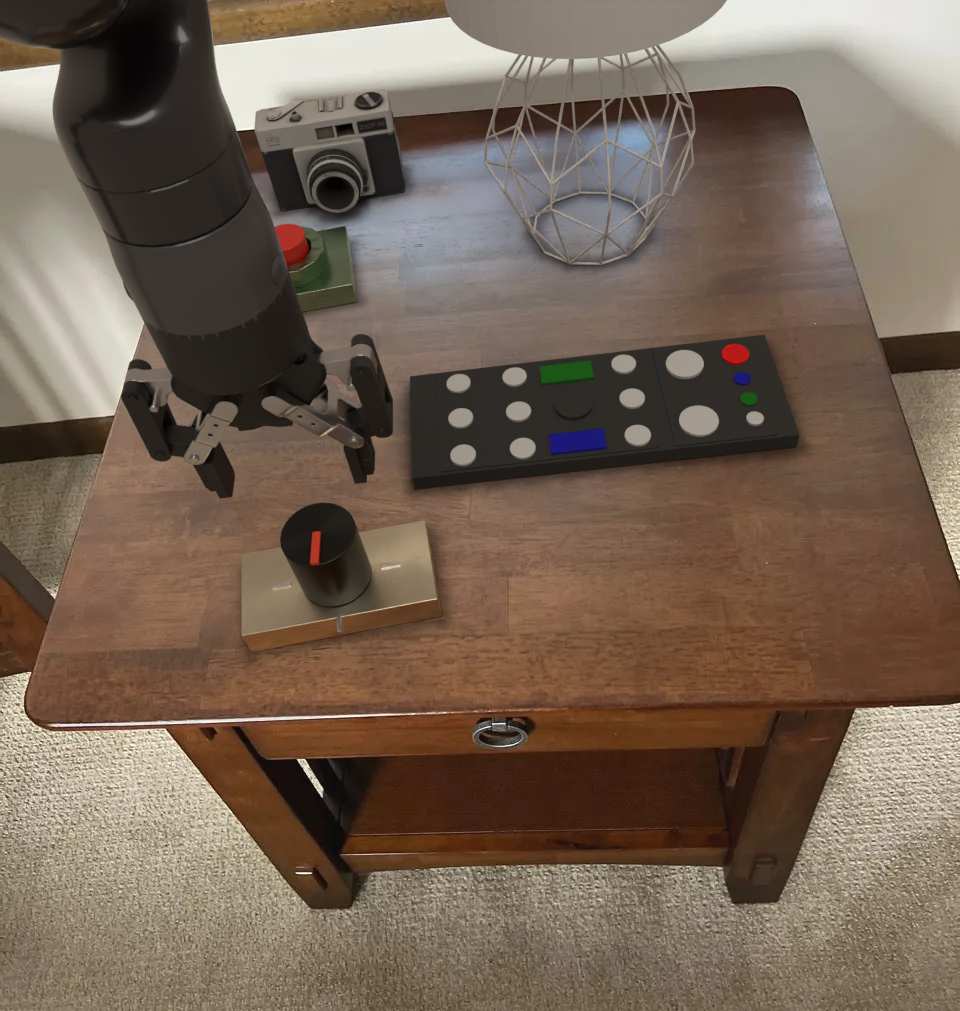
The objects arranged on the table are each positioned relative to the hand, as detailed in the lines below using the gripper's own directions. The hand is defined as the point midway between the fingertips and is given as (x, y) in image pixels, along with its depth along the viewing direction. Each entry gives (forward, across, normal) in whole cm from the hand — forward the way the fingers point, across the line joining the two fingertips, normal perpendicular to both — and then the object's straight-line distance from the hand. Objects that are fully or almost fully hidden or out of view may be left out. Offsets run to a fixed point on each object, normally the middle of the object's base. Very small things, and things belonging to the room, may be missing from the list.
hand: (294, 480), depth 58 cm
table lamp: (+13, -23, -39) cm, 47 cm away
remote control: (+14, -21, -14) cm, 29 cm away
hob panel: (+14, 0, 0) cm, 14 cm away
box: (+13, +5, -36) cm, 39 cm away
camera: (+14, +2, -48) cm, 50 cm away
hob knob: (+11, 0, 0) cm, 11 cm away
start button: (+10, +5, -36) cm, 38 cm away
